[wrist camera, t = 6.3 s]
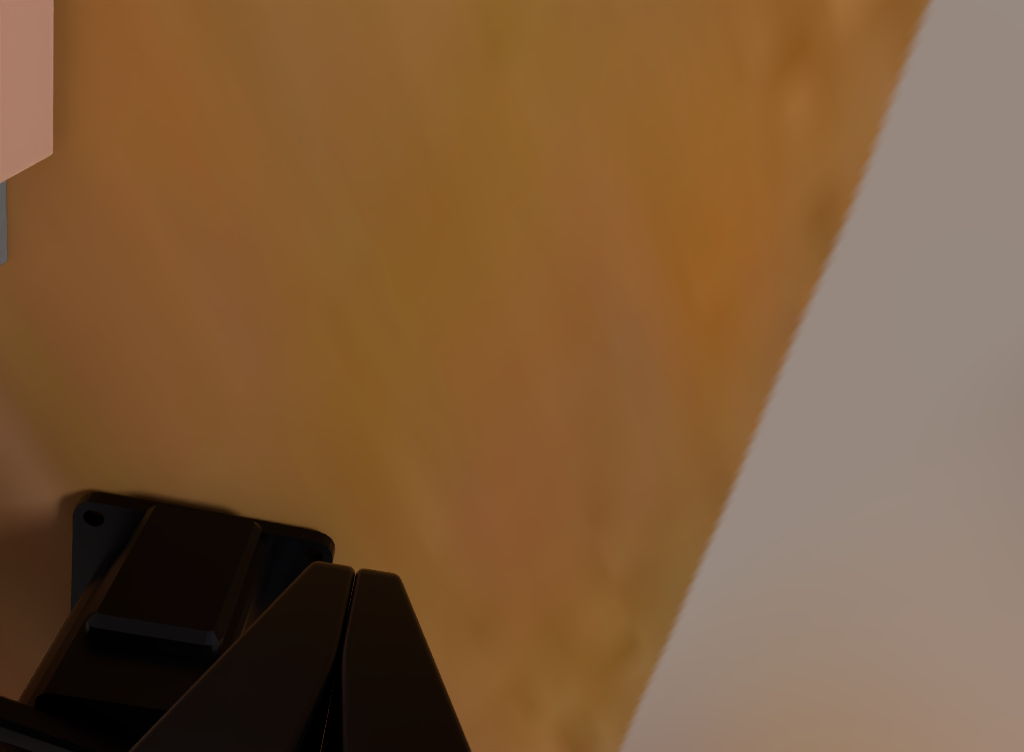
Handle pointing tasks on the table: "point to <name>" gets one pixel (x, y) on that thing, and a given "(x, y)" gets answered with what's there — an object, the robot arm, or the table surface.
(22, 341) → the table surface
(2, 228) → the mat
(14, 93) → the block
